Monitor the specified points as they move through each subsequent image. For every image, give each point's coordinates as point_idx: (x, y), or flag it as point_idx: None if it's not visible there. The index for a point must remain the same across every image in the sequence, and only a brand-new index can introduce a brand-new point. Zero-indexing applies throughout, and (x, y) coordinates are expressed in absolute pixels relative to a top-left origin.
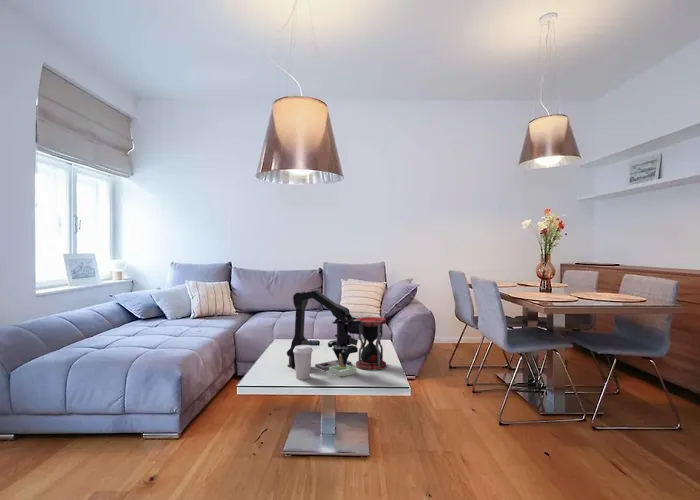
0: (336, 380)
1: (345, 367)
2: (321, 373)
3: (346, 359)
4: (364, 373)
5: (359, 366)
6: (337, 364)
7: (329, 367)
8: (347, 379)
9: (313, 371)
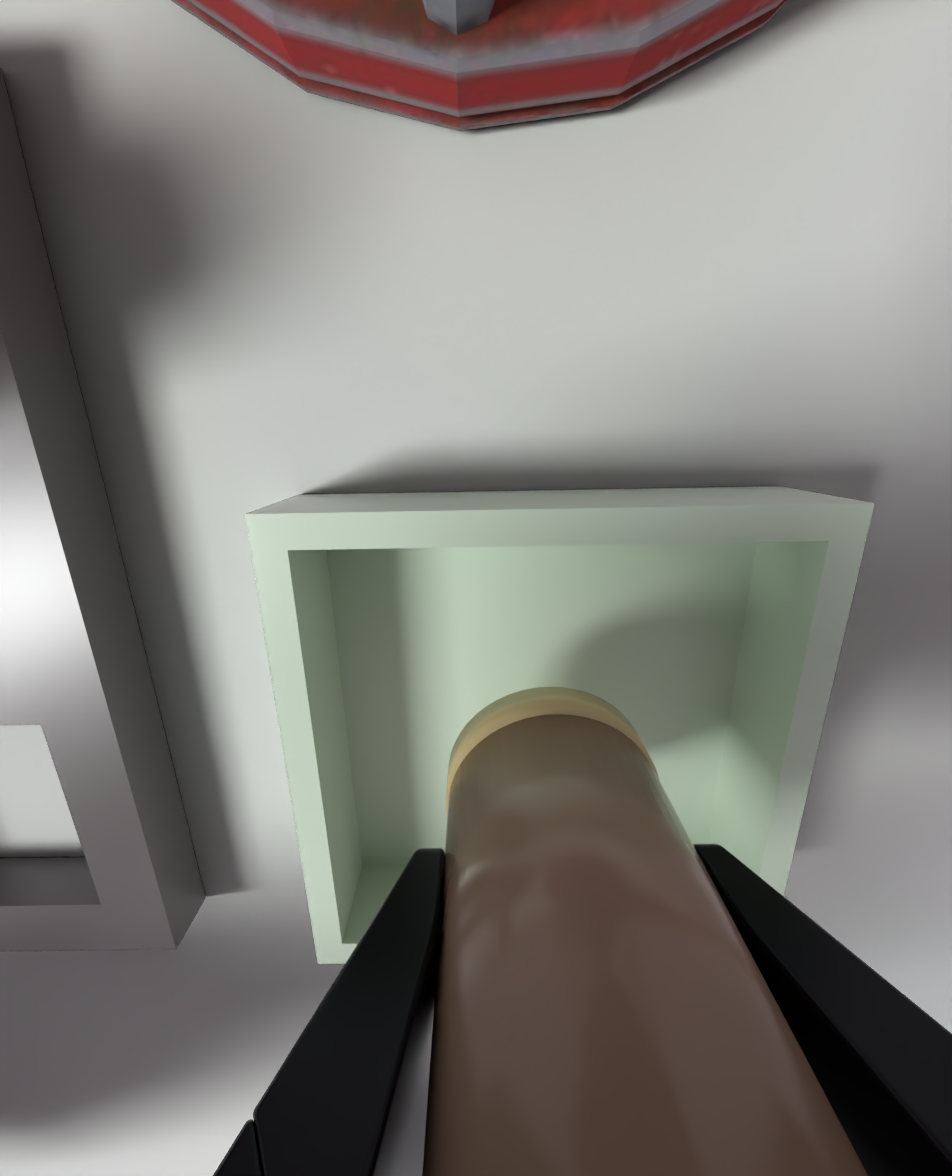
0: None
1: (649, 759)
2: None
3: (926, 1068)
4: (934, 307)
5: (520, 84)
6: (42, 597)
7: (340, 961)
8: (910, 831)
9: (182, 1014)
